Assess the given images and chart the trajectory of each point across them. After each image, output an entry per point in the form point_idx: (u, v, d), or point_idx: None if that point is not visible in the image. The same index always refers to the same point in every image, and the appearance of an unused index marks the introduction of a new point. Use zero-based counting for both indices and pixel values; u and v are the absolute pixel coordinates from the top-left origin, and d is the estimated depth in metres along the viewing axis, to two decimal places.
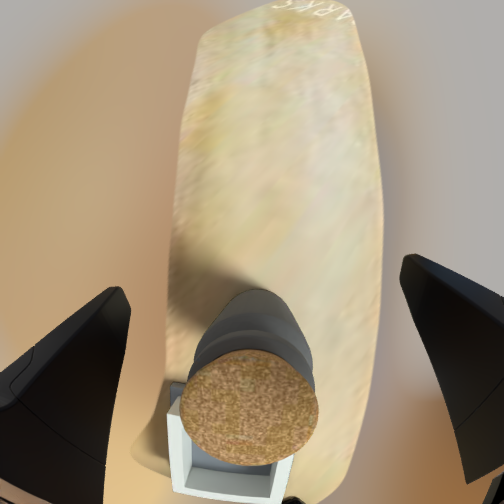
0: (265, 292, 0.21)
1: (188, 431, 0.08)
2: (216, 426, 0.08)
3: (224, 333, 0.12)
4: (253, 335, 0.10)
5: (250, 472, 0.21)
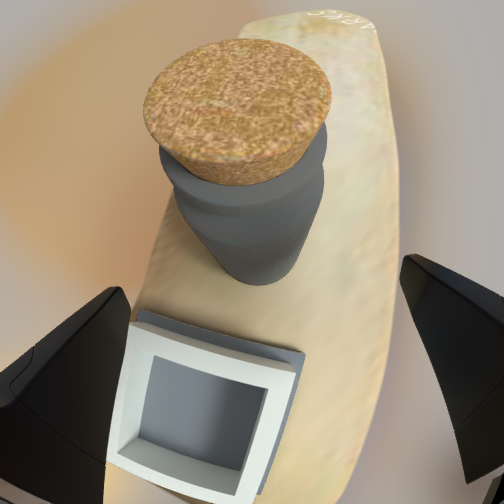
0: None
1: (147, 104, 0.06)
2: (188, 92, 0.06)
3: None
4: None
5: (214, 461, 0.16)
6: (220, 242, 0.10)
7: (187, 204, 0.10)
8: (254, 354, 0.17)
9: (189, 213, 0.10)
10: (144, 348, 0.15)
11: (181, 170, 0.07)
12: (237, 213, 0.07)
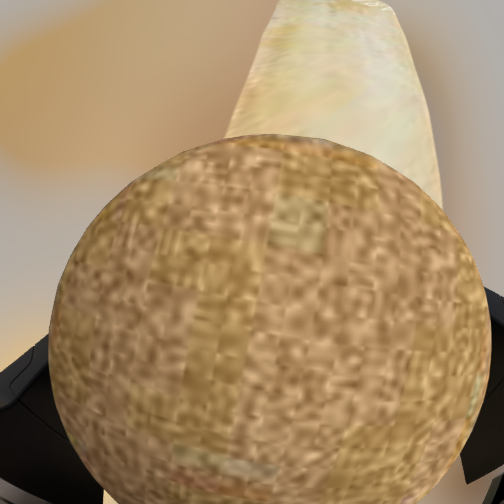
0: None
1: (58, 396, 0.02)
2: (144, 402, 0.02)
3: None
4: None
5: None
6: None
7: None
8: None
9: None
10: None
11: None
12: None
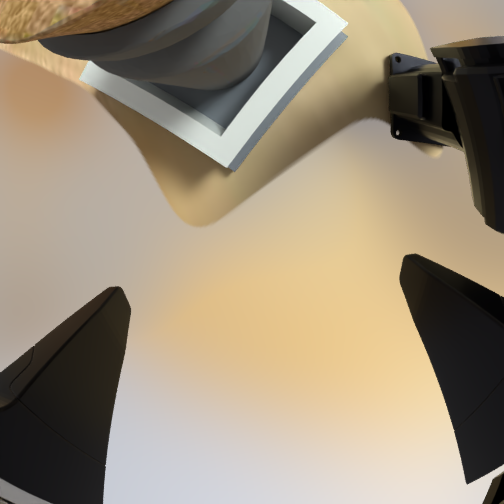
0: None
1: (29, 30, 0.02)
2: None
3: None
4: None
5: (281, 54, 0.14)
6: (246, 36, 0.05)
7: (178, 58, 0.05)
8: None
9: (190, 61, 0.06)
10: None
11: (155, 16, 0.03)
12: None
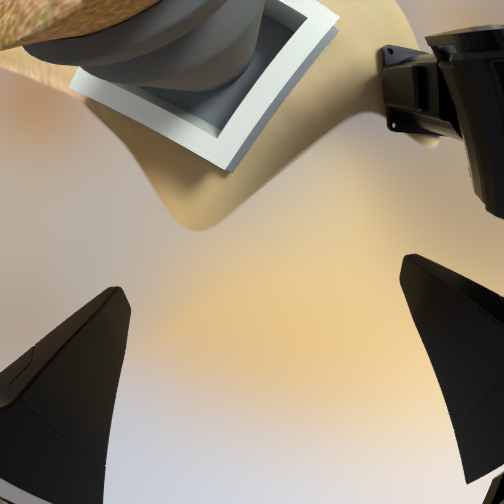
0: None
1: (12, 35, 0.01)
2: None
3: None
4: None
5: (273, 51, 0.13)
6: (241, 33, 0.05)
7: (172, 60, 0.05)
8: None
9: (184, 62, 0.05)
10: None
11: (147, 14, 0.03)
12: None
